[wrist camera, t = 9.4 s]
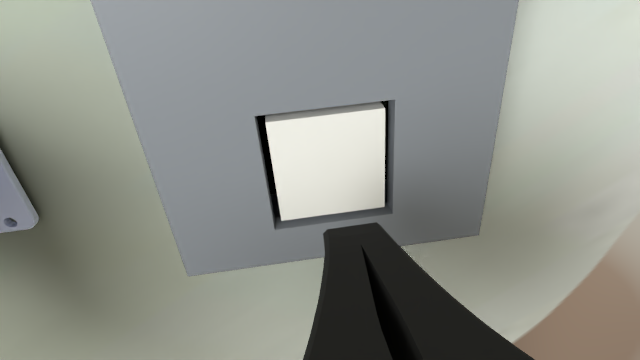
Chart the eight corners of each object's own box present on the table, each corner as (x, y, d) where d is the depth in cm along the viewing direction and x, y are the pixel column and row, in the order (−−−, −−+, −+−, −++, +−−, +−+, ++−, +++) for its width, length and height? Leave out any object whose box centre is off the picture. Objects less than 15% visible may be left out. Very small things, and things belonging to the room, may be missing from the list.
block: (279, 175, 17) (281, 220, 14) (266, 90, 15) (265, 122, 12) (364, 164, 18) (384, 206, 15) (362, 79, 16) (385, 108, 13)
